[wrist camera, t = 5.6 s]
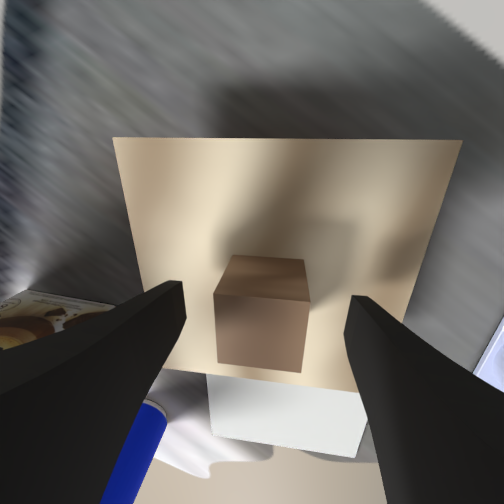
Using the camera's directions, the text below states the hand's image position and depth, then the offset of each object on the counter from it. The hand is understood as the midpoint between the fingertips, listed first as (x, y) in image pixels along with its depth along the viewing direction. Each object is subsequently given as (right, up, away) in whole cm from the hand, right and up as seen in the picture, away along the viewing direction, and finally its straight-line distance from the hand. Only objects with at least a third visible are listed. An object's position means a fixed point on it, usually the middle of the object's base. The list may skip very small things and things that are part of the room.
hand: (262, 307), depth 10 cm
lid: (0, +1, +3) cm, 3 cm away
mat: (+3, -11, +12) cm, 17 cm away
